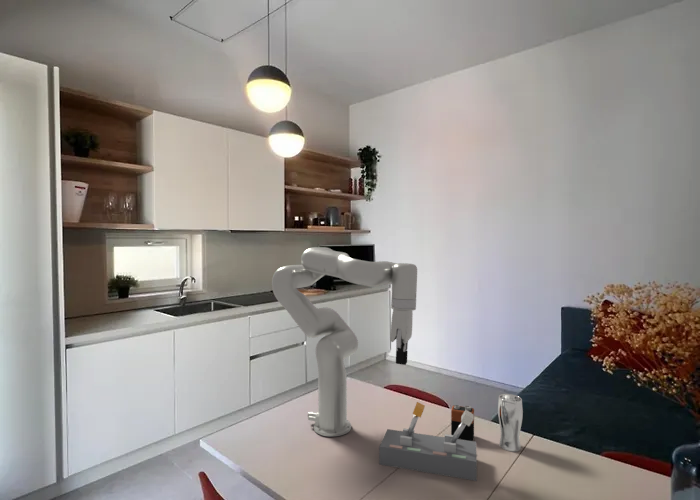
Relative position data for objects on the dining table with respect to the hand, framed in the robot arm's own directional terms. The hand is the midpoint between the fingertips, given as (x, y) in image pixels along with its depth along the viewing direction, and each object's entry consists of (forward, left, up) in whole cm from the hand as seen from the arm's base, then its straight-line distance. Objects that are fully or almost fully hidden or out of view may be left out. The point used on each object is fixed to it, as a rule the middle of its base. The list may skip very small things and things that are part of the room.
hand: (401, 363), depth 119 cm
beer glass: (+32, +10, -26) cm, 42 cm away
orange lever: (+3, -6, -20) cm, 21 cm away
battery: (+18, +12, -26) cm, 33 cm away
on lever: (+15, -6, -20) cm, 26 cm away
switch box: (+9, -6, -26) cm, 28 cm away
